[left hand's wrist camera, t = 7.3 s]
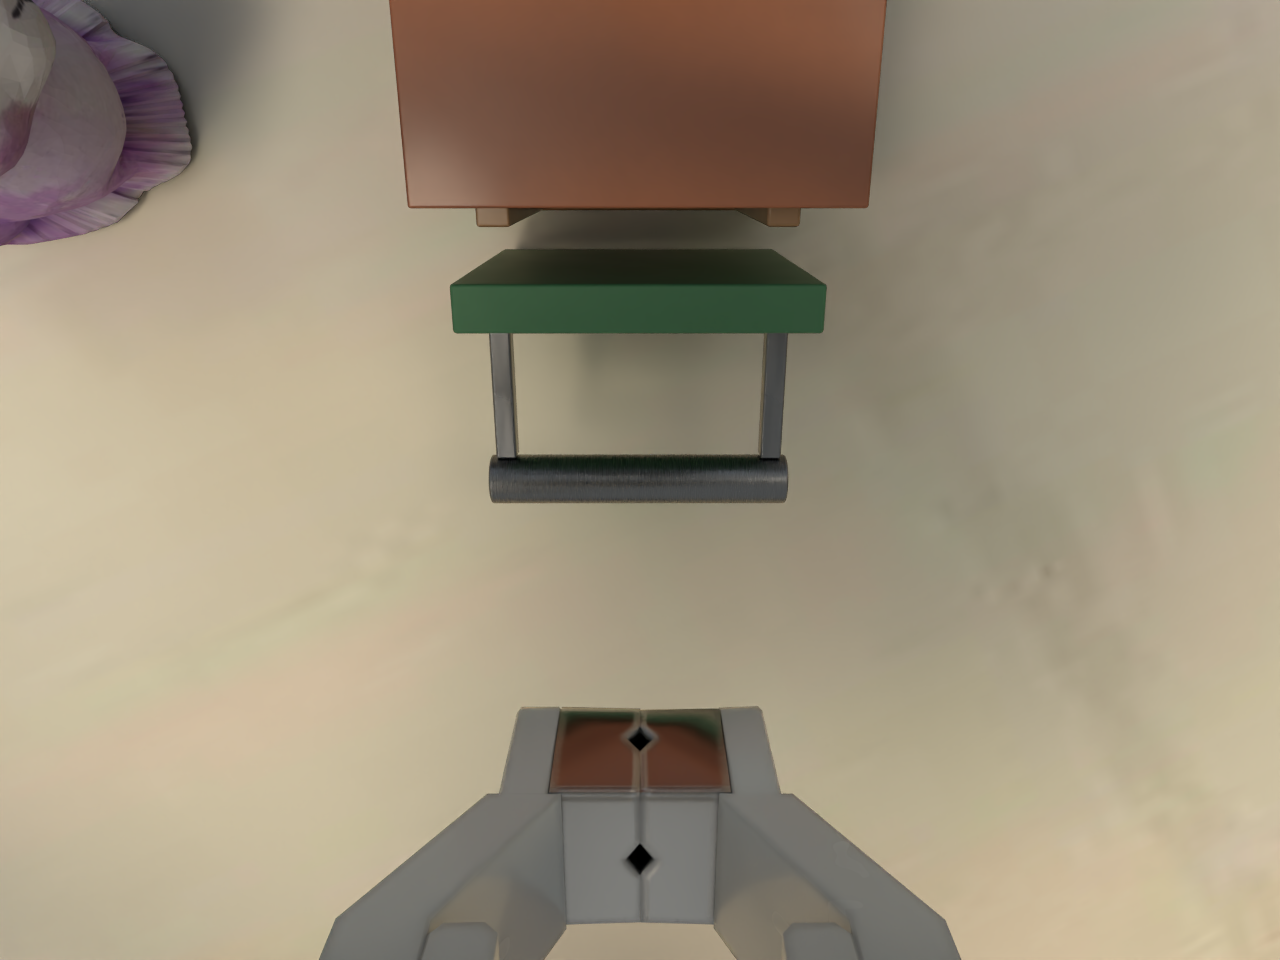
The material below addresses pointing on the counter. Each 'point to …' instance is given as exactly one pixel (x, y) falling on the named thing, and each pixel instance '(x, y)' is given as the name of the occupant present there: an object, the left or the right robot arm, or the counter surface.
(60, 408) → the counter surface
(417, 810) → the counter surface
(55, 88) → the figurine
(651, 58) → the cabinet
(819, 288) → the drawer
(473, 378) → the counter surface
